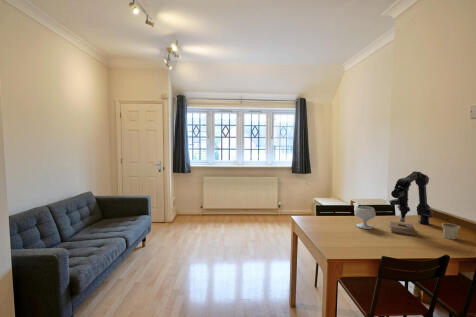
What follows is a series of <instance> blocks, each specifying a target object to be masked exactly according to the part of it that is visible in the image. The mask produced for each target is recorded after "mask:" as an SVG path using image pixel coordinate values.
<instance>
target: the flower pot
mask: <svg viewBox="0 0 476 317" xmlns="http://www.w3.org/2000/svg"><path fill="white" fill-rule="evenodd" d="M441 227H442V231H443V237H444V238H446V239H448V240H456V239H457V237H458V236H457V235H458V232H459V230H460V228H461V226H459V225H457V224H454V223H449V222H447V223H445V222H444V223H443V222H442V223H441Z"/></svg>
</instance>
